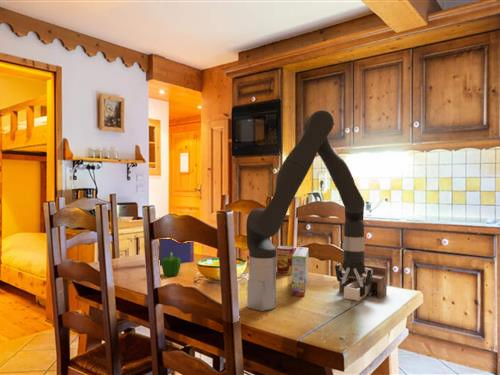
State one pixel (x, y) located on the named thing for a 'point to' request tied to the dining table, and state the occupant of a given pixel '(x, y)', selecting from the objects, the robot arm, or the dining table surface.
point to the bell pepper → (171, 265)
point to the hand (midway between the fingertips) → (353, 294)
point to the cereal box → (176, 250)
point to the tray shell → (355, 290)
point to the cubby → (377, 280)
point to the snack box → (299, 271)
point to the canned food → (284, 260)
